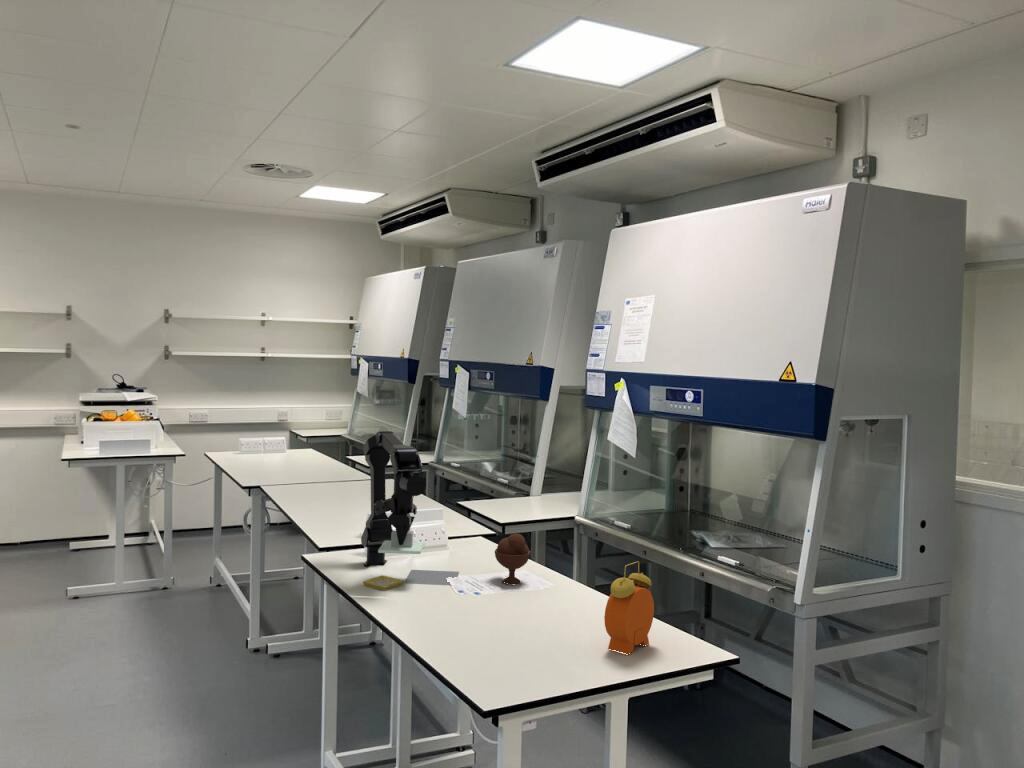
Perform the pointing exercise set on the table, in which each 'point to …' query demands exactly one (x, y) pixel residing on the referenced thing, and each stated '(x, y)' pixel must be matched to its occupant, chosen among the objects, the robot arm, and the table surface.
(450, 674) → the table surface
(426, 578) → the mat
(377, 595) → the table surface
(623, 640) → the alarm clock
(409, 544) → the cover
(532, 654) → the table surface
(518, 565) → the ice cream bowl
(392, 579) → the saucer
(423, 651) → the table surface
